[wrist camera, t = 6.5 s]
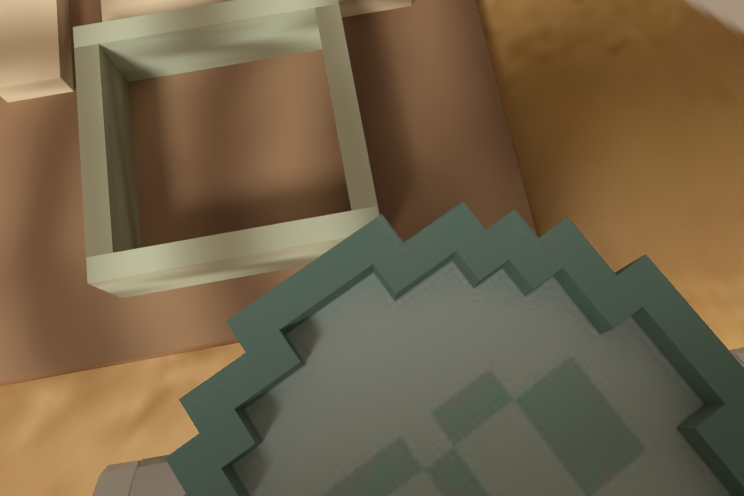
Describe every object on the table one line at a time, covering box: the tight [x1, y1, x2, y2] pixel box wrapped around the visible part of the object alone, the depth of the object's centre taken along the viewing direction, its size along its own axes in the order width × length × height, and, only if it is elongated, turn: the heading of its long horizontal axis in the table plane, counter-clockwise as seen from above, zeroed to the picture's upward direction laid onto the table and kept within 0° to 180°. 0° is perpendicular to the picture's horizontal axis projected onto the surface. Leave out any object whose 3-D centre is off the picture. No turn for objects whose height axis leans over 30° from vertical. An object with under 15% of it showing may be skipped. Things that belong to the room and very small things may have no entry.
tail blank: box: [0, 0, 74, 102], centre depth 28 cm, size 5×3×1 cm, turn 10°
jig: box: [0, 0, 537, 386], centre depth 26 cm, size 24×18×4 cm
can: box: [165, 202, 744, 496], centre depth 13 cm, size 6×6×15 cm
